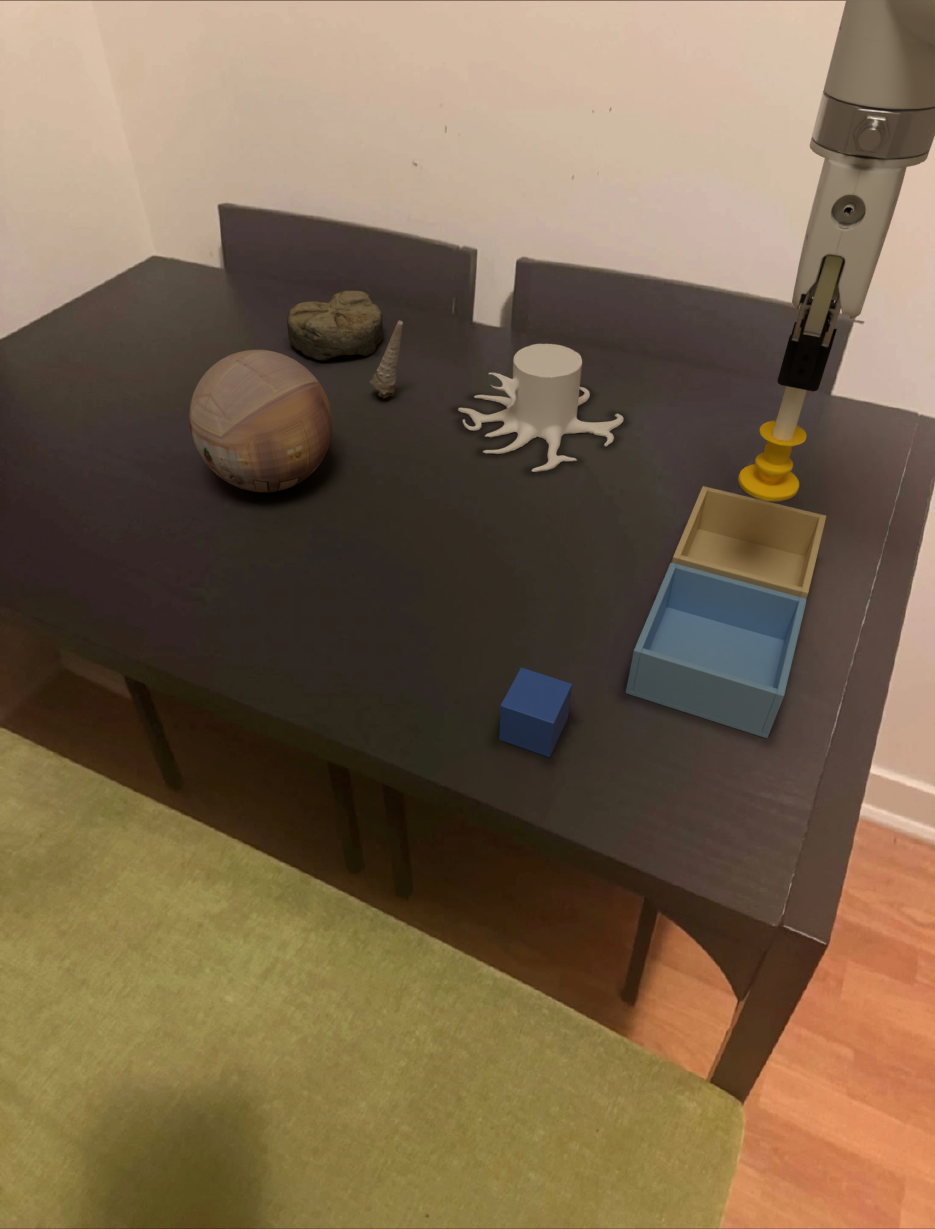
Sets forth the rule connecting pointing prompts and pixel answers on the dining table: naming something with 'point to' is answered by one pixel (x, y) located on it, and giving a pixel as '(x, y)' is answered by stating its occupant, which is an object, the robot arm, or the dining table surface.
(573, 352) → the tree stump
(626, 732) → the dining table surface
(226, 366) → the ornament
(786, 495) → the candle
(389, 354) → the seashell
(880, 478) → the dining table surface
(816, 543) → the cream bin
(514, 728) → the blue block
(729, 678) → the blue bin
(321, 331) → the stone
